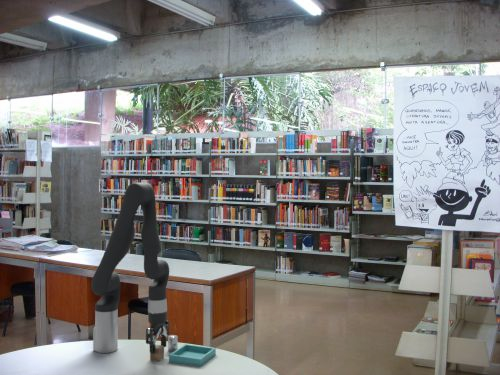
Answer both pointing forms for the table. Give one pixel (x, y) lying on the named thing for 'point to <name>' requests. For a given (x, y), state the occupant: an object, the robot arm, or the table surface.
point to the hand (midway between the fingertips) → (158, 350)
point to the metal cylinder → (172, 343)
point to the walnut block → (158, 353)
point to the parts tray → (192, 355)
